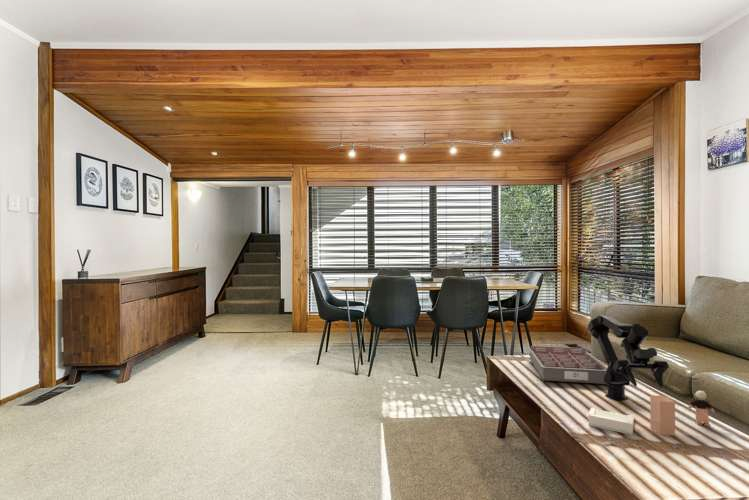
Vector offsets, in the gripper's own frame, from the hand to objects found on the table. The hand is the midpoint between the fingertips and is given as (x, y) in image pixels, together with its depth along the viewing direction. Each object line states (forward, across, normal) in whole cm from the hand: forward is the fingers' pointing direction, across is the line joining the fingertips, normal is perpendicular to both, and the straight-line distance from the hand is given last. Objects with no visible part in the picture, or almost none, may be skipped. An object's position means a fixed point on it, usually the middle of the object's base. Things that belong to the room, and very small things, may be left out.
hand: (648, 386), depth 152 cm
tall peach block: (+15, 0, +4) cm, 16 cm away
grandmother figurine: (+10, +18, +10) cm, 23 cm away
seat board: (+11, -15, +8) cm, 20 cm away
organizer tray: (-34, -10, +53) cm, 63 cm away
